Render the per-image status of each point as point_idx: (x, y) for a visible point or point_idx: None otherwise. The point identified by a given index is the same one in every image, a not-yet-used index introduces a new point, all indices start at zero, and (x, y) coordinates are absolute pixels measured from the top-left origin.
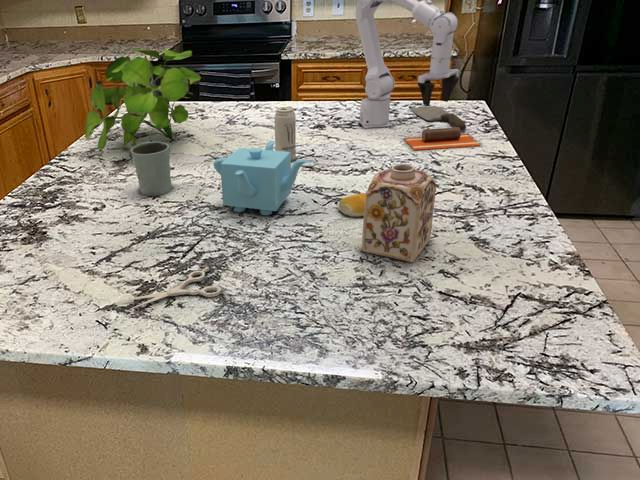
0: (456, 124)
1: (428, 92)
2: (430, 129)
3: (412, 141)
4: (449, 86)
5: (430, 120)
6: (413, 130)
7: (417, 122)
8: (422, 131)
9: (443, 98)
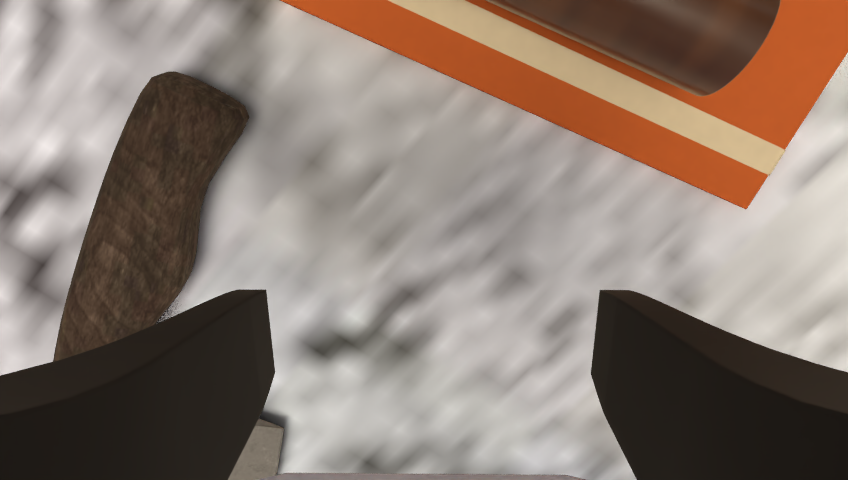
0: (212, 151)
1: (834, 373)
2: (704, 7)
3: (768, 98)
4: (133, 424)
5: (264, 422)
6: (507, 339)
7: (349, 459)
8: (725, 81)
9: (260, 370)
